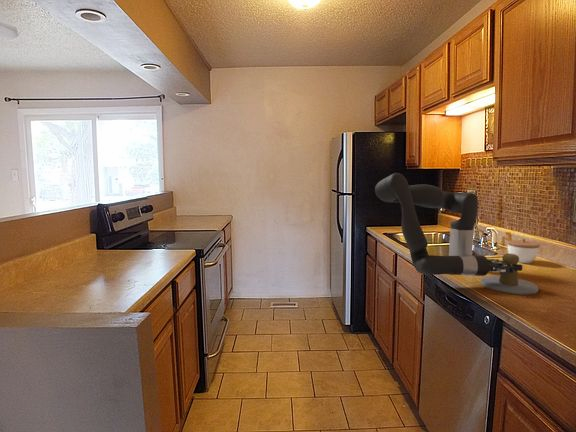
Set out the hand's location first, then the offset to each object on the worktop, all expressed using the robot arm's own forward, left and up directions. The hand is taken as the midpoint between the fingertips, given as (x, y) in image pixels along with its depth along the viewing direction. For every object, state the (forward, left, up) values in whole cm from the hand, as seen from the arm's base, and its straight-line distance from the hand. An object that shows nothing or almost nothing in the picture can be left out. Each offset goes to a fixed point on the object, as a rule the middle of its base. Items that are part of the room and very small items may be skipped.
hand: (517, 266), depth 128 cm
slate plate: (+1, -2, -8) cm, 8 cm away
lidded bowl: (-44, +9, -8) cm, 45 cm away
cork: (+1, -3, -7) cm, 7 cm away
